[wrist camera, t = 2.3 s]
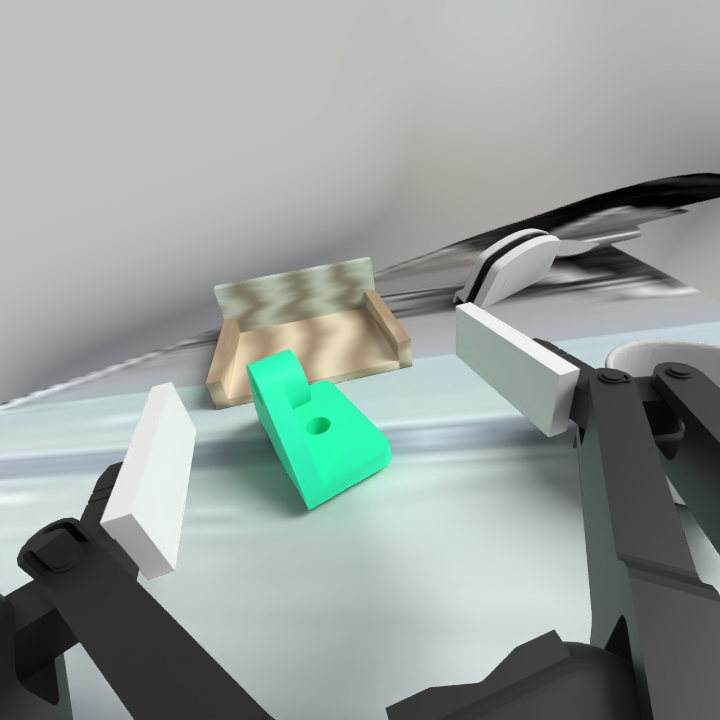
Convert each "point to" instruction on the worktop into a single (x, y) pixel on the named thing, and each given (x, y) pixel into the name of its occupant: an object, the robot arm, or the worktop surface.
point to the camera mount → (314, 429)
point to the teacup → (651, 352)
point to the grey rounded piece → (509, 267)
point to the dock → (306, 328)
